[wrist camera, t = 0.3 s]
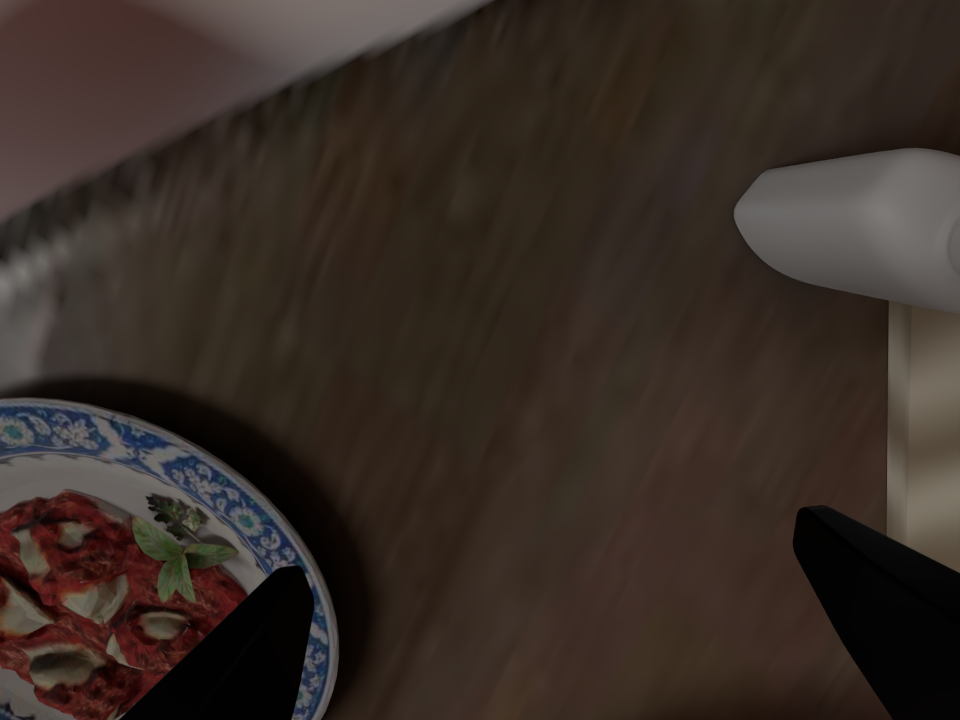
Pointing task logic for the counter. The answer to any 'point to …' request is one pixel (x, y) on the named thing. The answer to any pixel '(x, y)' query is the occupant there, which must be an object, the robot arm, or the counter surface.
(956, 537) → the bottle socket
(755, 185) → the eye dropper bottle
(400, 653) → the counter surface
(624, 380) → the counter surface
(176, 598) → the ceramic plate
